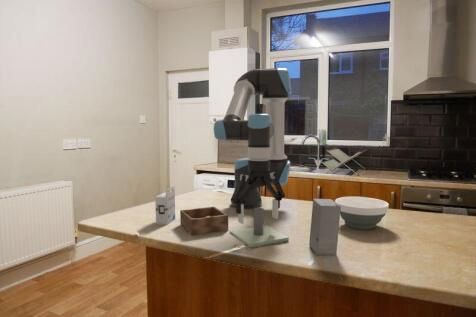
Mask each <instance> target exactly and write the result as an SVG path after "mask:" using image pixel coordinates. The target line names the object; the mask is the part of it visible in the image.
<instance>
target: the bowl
mask: <svg viewBox="0 0 476 317" xmlns="http://www.w3.org/2000/svg"><path fill="white" fill-rule="evenodd" d="M334 202H337V204H338V205H340V206H341V210H340V218H341V219H342V220H343V221H344V224H345V225H346V226H347V227H349V228H351V229H356V230H364V231H366V230H373V229H375V228H376V227H377V225H378V224H379V223H380V222H381V221H382V219H383V218H384V217H385V215H386V214H387V213H388V210H389V203H388V202H387V201H385V200H382V199H379V198H374V197H366V196H342V197H338V198H336V199H335V200H334Z"/></svg>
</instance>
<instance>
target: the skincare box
mask: <svg viewBox="0 0 476 317" xmlns="http://www.w3.org/2000/svg"><path fill="white" fill-rule="evenodd" d="M311 207H312V210H311V220H310V231H309V232H310V233H309V242H308V245H309V247H311V249H312V250H313V252H314V253H315V254H316V255H317V256H325V255H326V256H327V255H328V256H334V255H337V254H338V253H337V250H338V239H339V230H340V219H341V215H340V210H341V206H340V205H338V204H337V202H335V200H333V199H331V198H330V199H329V198H327V199H326V198H313V199H312V206H311Z"/></svg>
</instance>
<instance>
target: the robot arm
mask: <svg viewBox="0 0 476 317" xmlns="http://www.w3.org/2000/svg"><path fill="white" fill-rule="evenodd" d="M289 95H292V84H291V76H290V72H289V70H288V69H287V68H284V67H282V68H281V67H277V68H276V67H273V68H272V67H271V68H255V69H251V70H249V71H247V72H245V73H243V74H242V75H241V76H240V77H239V78H238V79H237V80H236V82H235V84H234V86H233V94H232V97H231V100H230V103H229V105H228V106H227V107H228V108H227V110H226V113H225V115H224V118H223V119H220V120H219V119H217V120H216V121H215V122H214V124H213V134H214V138H215V140H218V141H247V157H243V158H239V159H236V160H235V161H234V162H235V163H234V169H233V171H234V191H233V194H232V196H231V198H230V205H231V206H232V207H234V208H235V213H236V214H237V222H238V223H239V224H242V225H243V224H245V222H244V221H245V218H244V217H245V215H244V213H245V212H244V210H245V209H254V208H261V207H262V206H263V200H262V197H261V193H260V190H259V187H265V188H266V189H267V190H268V192H269V193H270V194H271V196H272V197H273V198H272V199H271V200H272V203H271V204H272V206H271V209H272V210H271V212H272V214H271V215H272V216H271V217H272V218H274V219H275V220H277V219H279V209H280V208H281V201H282V200H283V198H285V197H286V194H285V192H284V190H283V187H282V186H286V185H287V184H288V180H289V178H290V170H291V161H290V160H288V156H287V155H286V154H285V104H286V103H285V102H287V100H288V99H289ZM254 96H262V100H263V101H264V102H265V113H251V114H249V115H248V118H247V119H246V120H245V116H246V113H247V110H248V107H249V105H250V101H251V99H252V98H253V97H254Z"/></svg>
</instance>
